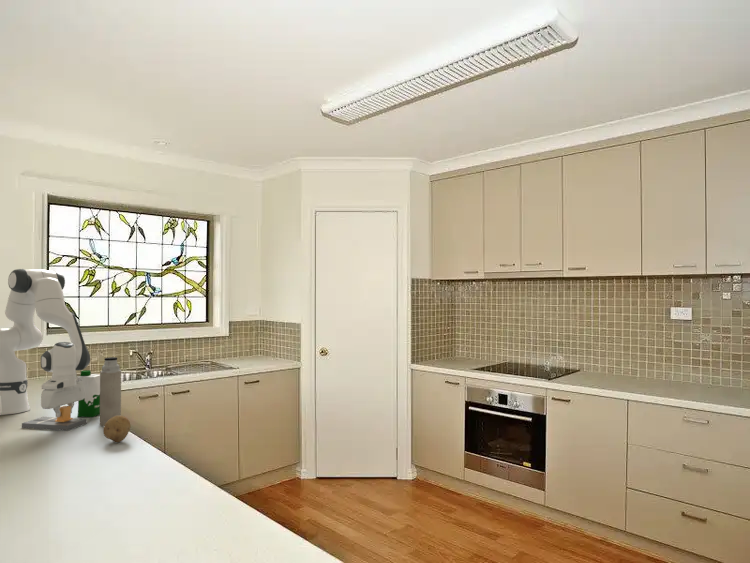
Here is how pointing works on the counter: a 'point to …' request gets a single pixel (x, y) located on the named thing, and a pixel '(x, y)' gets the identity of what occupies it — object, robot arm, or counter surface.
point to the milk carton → (89, 395)
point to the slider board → (53, 423)
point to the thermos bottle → (110, 390)
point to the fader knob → (64, 414)
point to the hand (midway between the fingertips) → (63, 415)
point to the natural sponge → (117, 428)
